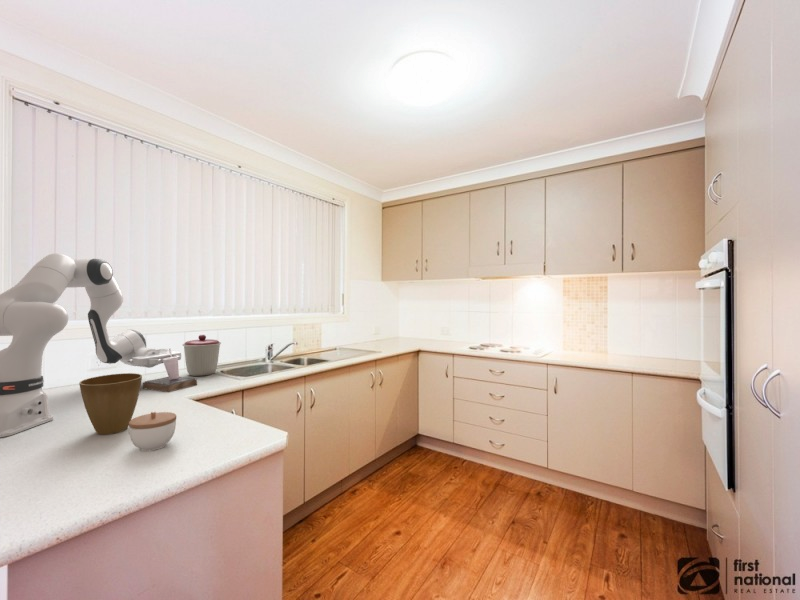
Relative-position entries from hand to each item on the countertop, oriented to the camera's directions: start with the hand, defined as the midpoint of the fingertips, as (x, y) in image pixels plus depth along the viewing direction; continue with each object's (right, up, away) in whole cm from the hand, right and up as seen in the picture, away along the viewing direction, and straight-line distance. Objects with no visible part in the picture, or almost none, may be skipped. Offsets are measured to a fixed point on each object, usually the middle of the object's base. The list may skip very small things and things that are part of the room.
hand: (169, 359), depth 165 cm
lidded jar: (+38, -13, -67) cm, 78 cm away
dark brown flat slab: (+1, -12, 0) cm, 12 cm away
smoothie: (+1, -9, +1) cm, 9 cm away
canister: (0, -12, +27) cm, 29 cm away
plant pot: (+18, -13, -55) cm, 60 cm away
